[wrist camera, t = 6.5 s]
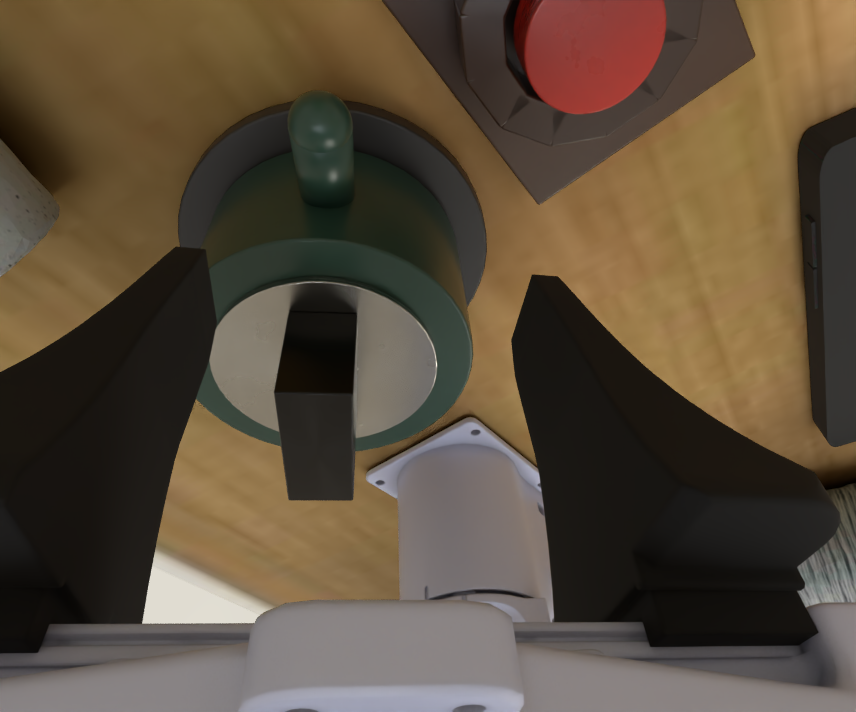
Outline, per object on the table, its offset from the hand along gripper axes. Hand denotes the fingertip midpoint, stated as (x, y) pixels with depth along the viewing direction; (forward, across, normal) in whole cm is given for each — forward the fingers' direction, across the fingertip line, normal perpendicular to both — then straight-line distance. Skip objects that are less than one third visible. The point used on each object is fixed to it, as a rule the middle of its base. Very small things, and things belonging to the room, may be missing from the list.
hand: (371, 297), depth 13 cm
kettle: (+9, +1, +5) cm, 10 cm away
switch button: (+7, -5, -4) cm, 10 cm away
